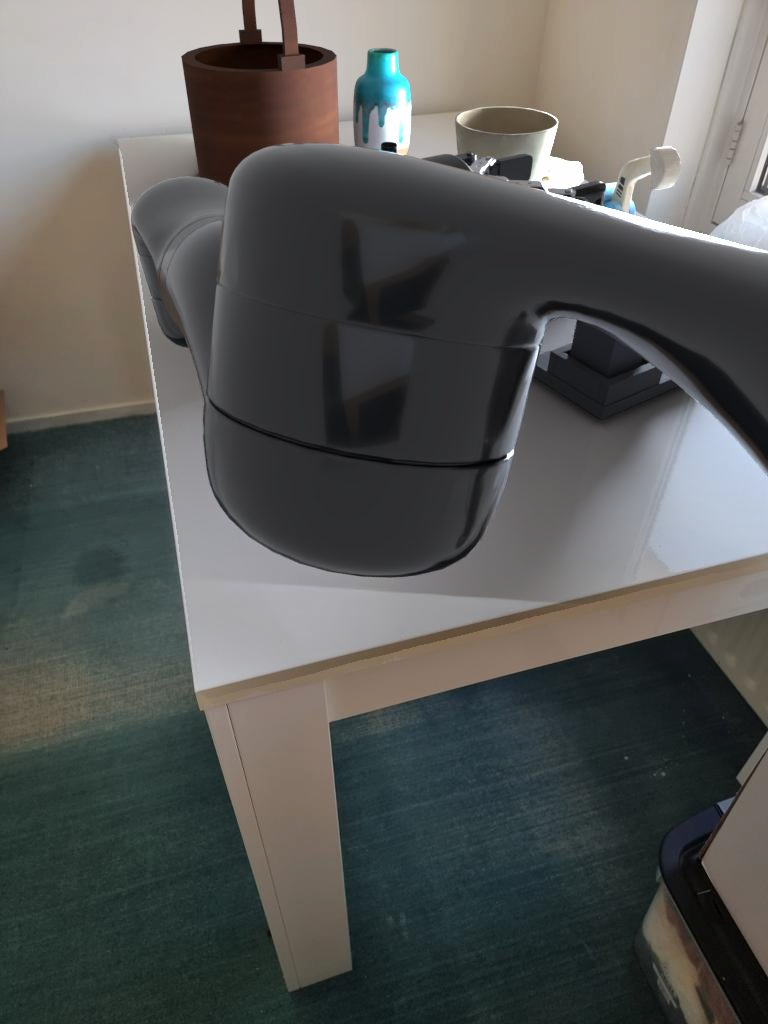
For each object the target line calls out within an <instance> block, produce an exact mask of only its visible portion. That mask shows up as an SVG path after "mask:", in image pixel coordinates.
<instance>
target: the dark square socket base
mask: <svg viewBox="0 0 768 1024" xmlns="http://www.w3.org/2000/svg"><path fill="white" fill-rule="evenodd" d="M571 347H572V342H570V343H567V344H564V345H562V346H558V347H557V348H554V349H551V350H548V351H545V352H542V353H539V357H538V361H537V365H536V369H535V373H534V377H533V378H536V379H537V380H539V381H540V382H542V383H544V384H545V385H547V386H548V387H550V388H551V389H553V390H554V391H556V392H557V393H559V394H561V395H562V396H563V397H565V398H567V399H568V400H569V401H571V402H573V403H574V404H576V405H577V406H578V407H580V408H582V409H583V410H585V411H587V412H588V413H590V414H591V415H593V416H594V417H595V418H597V419H599V420H601V421H603V420H605V419H607V418H609V417H611V416H614V415H616V414H618V413H620V412H622V411H625V410H626V409H629V408H632V407H634V406H636V405H638V404H641V403H644V402H645V401H648V400H650V399H652V398H655V397H657V396H660V395H661V394H664V393H667V392H669V391H671V390H673V389H675V388H678V387H680V386H679V385H677V384H676V383H675V382H674V381H672V380H671V379H670V378H669V377H668V376H666V375H665V374H664V373H663V372H661V371H660V370H659V369H657V368H656V367H655V366H653V365H652V364H650V363H649V362H648V361H646V360H645V359H644V358H643V359H642V363H641V366H640V367H638V368H635V369H633V370H630V371H628V372H625V373H623V374H620V375H618V376H616V377H613V378H611V379H607V378H606V377H604V376H602V375H601V374H599V373H597V372H596V371H594V370H592V369H591V368H589V367H587V366H586V365H584V364H582V363H581V362H579V361H577V360H576V359H574V358H572V357H571V356H570V352H571Z"/></svg>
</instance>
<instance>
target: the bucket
mask: <svg viewBox="0 0 768 1024" xmlns="http://www.w3.org/2000/svg"><path fill="white" fill-rule="evenodd" d="M277 4H278V12H279V20H280V28H281V41H263V34H262V28H258V25H257V14H256V0H241V10H242V11H241V12H242V20H243V29H238V38H239V41H238V42H228V43H218V44H212V45H206V46H201V47H197V48H195V49H191V50H189V51H186V52H185V53H184V54H182V55H181V64H182V72H183V77H184V84H185V85H184V86H185V92H186V98H187V103H188V104H187V105H188V111H189V119H190V124H191V132H192V136H193V137H192V138H193V145H194V153H195V158H196V159H195V160H196V164H197V166H196V167H197V170H198V171H197V172H198V177H203V178H208V179H211V180H214V181H218V182H220V183H222V184H224V185H226V186H229V182H230V178H231V176H232V174H233V172H234V171H235V169H236V168H237V166H238V165H239V164H240V163H241V162H242V160H243V159H245V158H246V157H248V156H249V155H250V154H252V153H254V152H256V151H258V150H261V149H263V148H266V147H270V146H274V145H279V144H286V143H332V144H340V125H339V91H338V89H339V88H338V85H339V84H338V55H337V54H336V53H335V52H334V51H333V50H331V49H328V48H326V47H323V46H319V45H318V46H317V45H313V44H307V43H299V39H298V38H299V37H298V35H299V34H298V26H297V25H298V24H297V17H296V16H297V15H296V8H295V7H296V6H295V0H277Z"/></svg>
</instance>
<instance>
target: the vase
mask: <svg viewBox="0 0 768 1024" xmlns="http://www.w3.org/2000/svg"><path fill="white" fill-rule="evenodd" d="M399 66H400V65H399V51H398V50H397V49H395V48H389V47H375V48H374V47H373V48H370V49H368V50H367V53H366V68H365V71H364V73H363V74H362V75H360V76H359V77H358V78H357V79H356V81H355V83H354V87H353V88H354V90H353V98H352V99H353V100H352V111H353V112H352V123H353V124H352V125H353V126H352V127H353V142H354V146H359V147H366V148H371V149H377V150H381V144H382V143H383V142H395V143H396V144H397V151H396V153H398V154H404V155H408V153H409V148H410V141H411V131H412V92H411V84H410V82H409V80H408V79H407V78H406V77H405V76H404V75H402V73H401V72H400V71H401V70H400V68H399Z"/></svg>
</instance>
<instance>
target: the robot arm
mask: <svg viewBox="0 0 768 1024" xmlns="http://www.w3.org/2000/svg"><path fill="white" fill-rule="evenodd" d="M532 163H533V157H532V156H531V155H528V154H525V153H524V154H519V155H514V156H509V157H505V158H500V159H495V158H492V157H490V156H487V157H483V158H482V159H481V160H478V159H476V154H474V153H472V152H467V153H463V154H459V155H458V154H450V153H442V154H438V155H432V156H427V157H421V158H419V157H415V156H411V155H408V154H407V155H404V154H398V153H393V152H388V151H382V150H377V149H371V148H366V147H359V146H355V145H349V144H340V143H339V144H332V143H286V144H279V145H274V146H270V147H266V148H263V149H261V150H258V151H256V152H254V153H252V154H250V155H249V156H248V157H246V158H245V159H243V160H242V162H241V163H240V164H239V165H238V166H237V168H236V169H235V171H234V172H233V174H232V176H231V178H230V182H229V186H226V185H224V184H222V183H220V182H218V181H214V180H211V179H208V178H203V177H199V176H194V175H193V176H192V175H191V176H190V175H189V176H188V175H187V176H177V177H172V178H167V179H165V180H161V181H159V182H157V183H155V184H153V185H151V186H149V187H148V188H147V189H146V190H145V191H144V192H142V193H141V194H140V195H139V196H138V198H137V199H136V200H135V202H134V204H133V206H132V209H131V213H130V227H131V230H132V236H133V239H134V243H135V247H136V250H137V253H138V255H139V256H138V257H139V260H140V264H141V267H142V271H143V274H144V278H145V280H146V281H145V282H146V285H147V287H148V291H149V295H150V297H151V302H152V306H153V310H154V313H155V317H156V320H157V323H158V326H159V327H160V330H161V332H162V334H163V335H164V337H165V338H166V339H167V340H169V341H170V342H171V343H173V344H174V345H176V346H179V347H182V348H183V349H187V350H189V352H190V355H191V359H192V362H193V364H194V368H195V371H196V375H197V379H198V383H199V386H200V391H201V395H202V399H203V407H202V408H203V409H202V441H203V442H202V443H203V452H204V458H205V459H204V460H205V468H206V474H207V478H208V483H209V486H210V489H211V492H212V495H213V497H214V498H215V501H216V503H217V504H218V506H219V507H220V508H221V510H222V511H223V513H224V514H225V516H226V517H227V518H228V519H229V520H230V521H231V522H232V523H233V524H234V525H235V526H236V527H237V528H238V529H239V530H241V532H242V533H244V534H245V535H246V536H247V538H249V539H250V540H252V541H254V542H256V543H257V544H259V545H260V546H262V547H264V548H265V549H266V550H268V551H270V552H271V553H273V554H276V555H278V556H281V557H283V558H285V559H287V560H290V561H292V562H294V563H297V564H300V565H303V566H306V567H309V568H312V569H313V568H314V569H317V570H320V571H324V572H327V573H335V574H343V575H348V576H355V577H362V578H385V579H394V578H396V579H397V578H409V577H417V576H421V575H425V574H430V573H433V572H437V571H442V570H445V569H447V568H448V567H451V566H452V565H454V564H457V563H458V562H460V561H462V560H463V559H465V558H466V557H467V556H468V555H470V553H471V552H472V551H474V549H476V548H477V546H479V544H480V543H481V542H482V541H483V539H484V536H485V535H486V533H487V532H488V530H489V527H490V525H491V523H492V520H493V518H494V516H495V513H496V511H497V509H498V507H499V504H500V502H501V499H502V496H503V493H504V489H505V487H506V484H507V480H508V477H509V474H510V470H511V467H512V463H513V460H514V455H515V447H516V445H517V444H518V443H517V442H518V440H519V434H520V431H521V427H522V423H523V420H524V419H523V418H524V415H525V412H526V408H527V404H528V400H529V397H530V392H531V387H532V385H533V380H534V378H535V377H534V373H535V369H536V365H537V361H538V357H539V355H540V354H541V348H542V344H543V340H544V336H545V332H546V328H547V326H548V325H549V323H551V322H552V321H554V320H556V319H572V320H576V321H577V320H580V321H582V322H584V323H586V324H588V325H590V326H592V327H594V328H596V329H598V330H599V331H601V332H603V333H605V334H606V335H608V336H610V337H611V338H613V339H615V340H616V341H618V342H620V343H621V344H623V345H625V346H626V347H628V348H630V349H631V350H633V351H634V352H635V353H637V354H638V355H639V356H641V357H642V358H644V359H645V360H646V361H648V362H649V363H650V364H652V365H653V366H655V367H656V368H657V369H659V370H660V371H661V372H663V373H664V374H665V375H666V376H668V377H669V378H670V379H671V380H672V381H674V382H675V383H676V384H677V385H679V386H678V387H679V388H681V389H682V390H683V391H684V392H685V393H686V394H687V395H689V396H690V397H691V398H692V399H694V400H695V402H697V403H698V404H699V405H700V406H701V407H702V408H703V409H705V410H706V411H707V412H708V413H709V414H710V415H711V416H713V418H714V419H715V420H717V422H718V423H719V424H720V425H721V426H722V427H723V428H724V429H725V430H726V431H727V432H728V434H730V435H731V436H732V437H733V438H734V439H735V440H736V442H737V443H738V444H739V445H740V446H741V448H743V450H744V451H745V452H746V454H748V456H749V457H750V458H751V459H752V460H753V462H754V463H755V464H756V465H757V467H759V469H761V471H762V472H763V473H764V475H766V477H768V250H764V249H759V248H755V247H751V246H747V245H743V244H739V243H736V242H732V241H729V240H725V239H721V238H718V237H714V236H710V235H707V234H703V233H699V232H696V231H692V230H689V229H684V228H682V227H677V226H674V225H669V224H666V223H662V222H659V221H655V220H652V219H648V218H644V217H640V216H637V215H635V216H633V215H630V214H626V213H622V212H619V211H615V210H612V209H608V208H604V207H602V206H603V201H604V196H605V191H606V184H607V183H605V182H603V181H599V180H594V181H589V182H585V183H580V184H579V185H577V186H573V187H569V188H566V189H562V188H546V187H545V186H544V183H543V182H541V181H528V180H529V179H530V177H531V171H532Z"/></svg>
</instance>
